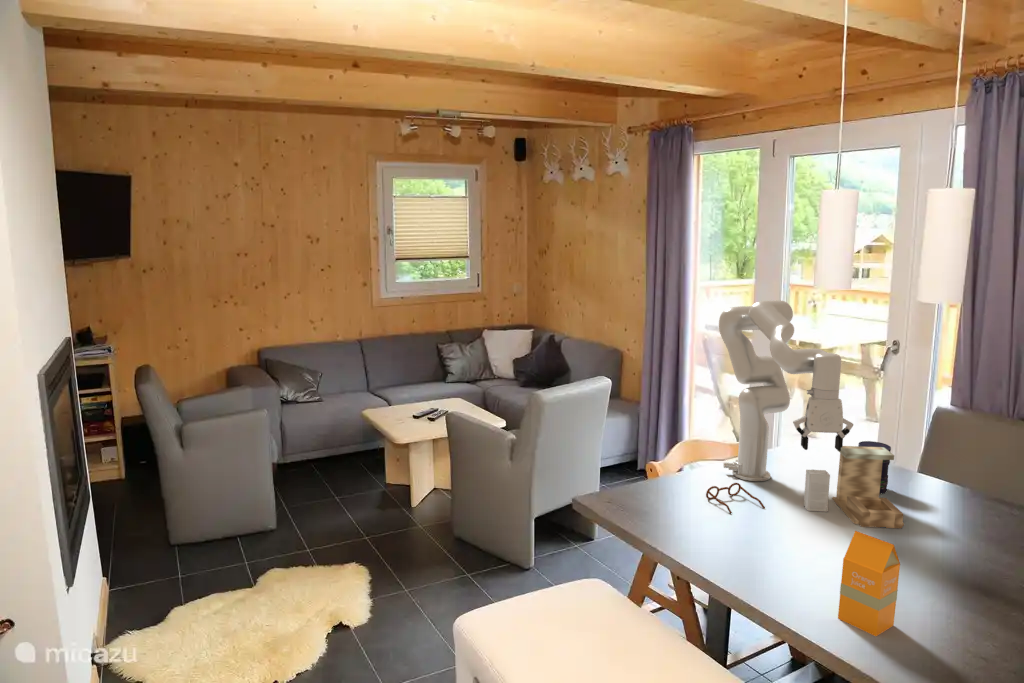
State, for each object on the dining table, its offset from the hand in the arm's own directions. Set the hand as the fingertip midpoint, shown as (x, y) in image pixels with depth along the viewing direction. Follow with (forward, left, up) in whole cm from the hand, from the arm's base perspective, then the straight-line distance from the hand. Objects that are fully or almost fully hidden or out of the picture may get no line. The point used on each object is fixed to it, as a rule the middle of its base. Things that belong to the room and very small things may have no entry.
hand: (821, 449), depth 221 cm
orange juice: (-9, -65, -20) cm, 68 cm away
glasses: (-24, +1, -20) cm, 31 cm away
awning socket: (+15, -1, -19) cm, 24 cm away
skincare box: (0, 0, -20) cm, 20 cm away
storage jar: (+24, +20, -20) cm, 37 cm away
